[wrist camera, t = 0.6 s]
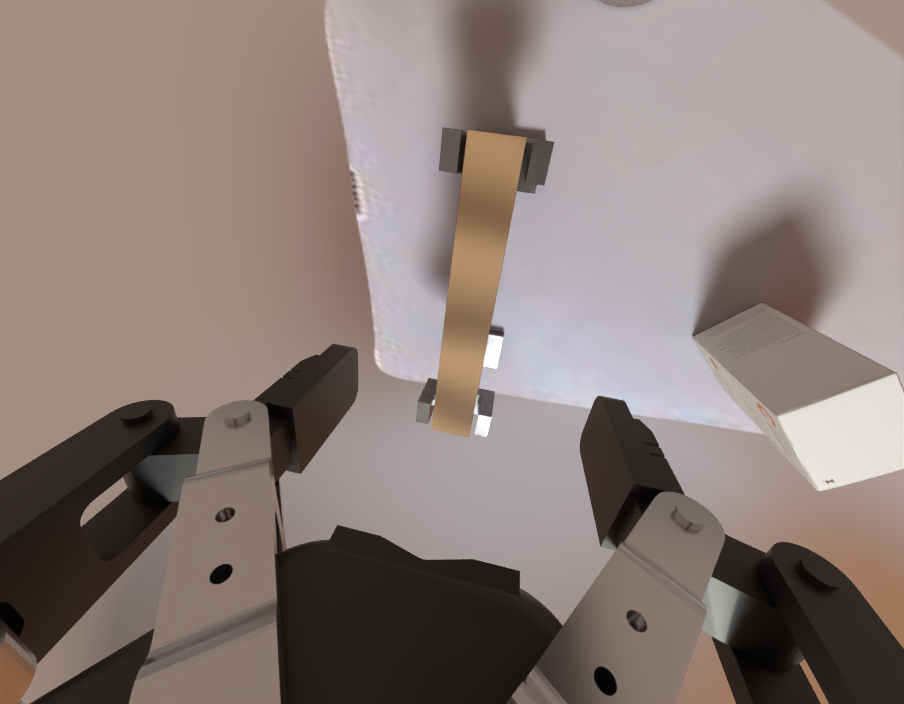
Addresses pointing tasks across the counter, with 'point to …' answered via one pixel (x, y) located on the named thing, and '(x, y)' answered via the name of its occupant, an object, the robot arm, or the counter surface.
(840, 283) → the counter surface
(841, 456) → the small box
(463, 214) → the tan wooden bar
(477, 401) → the grey support rack
